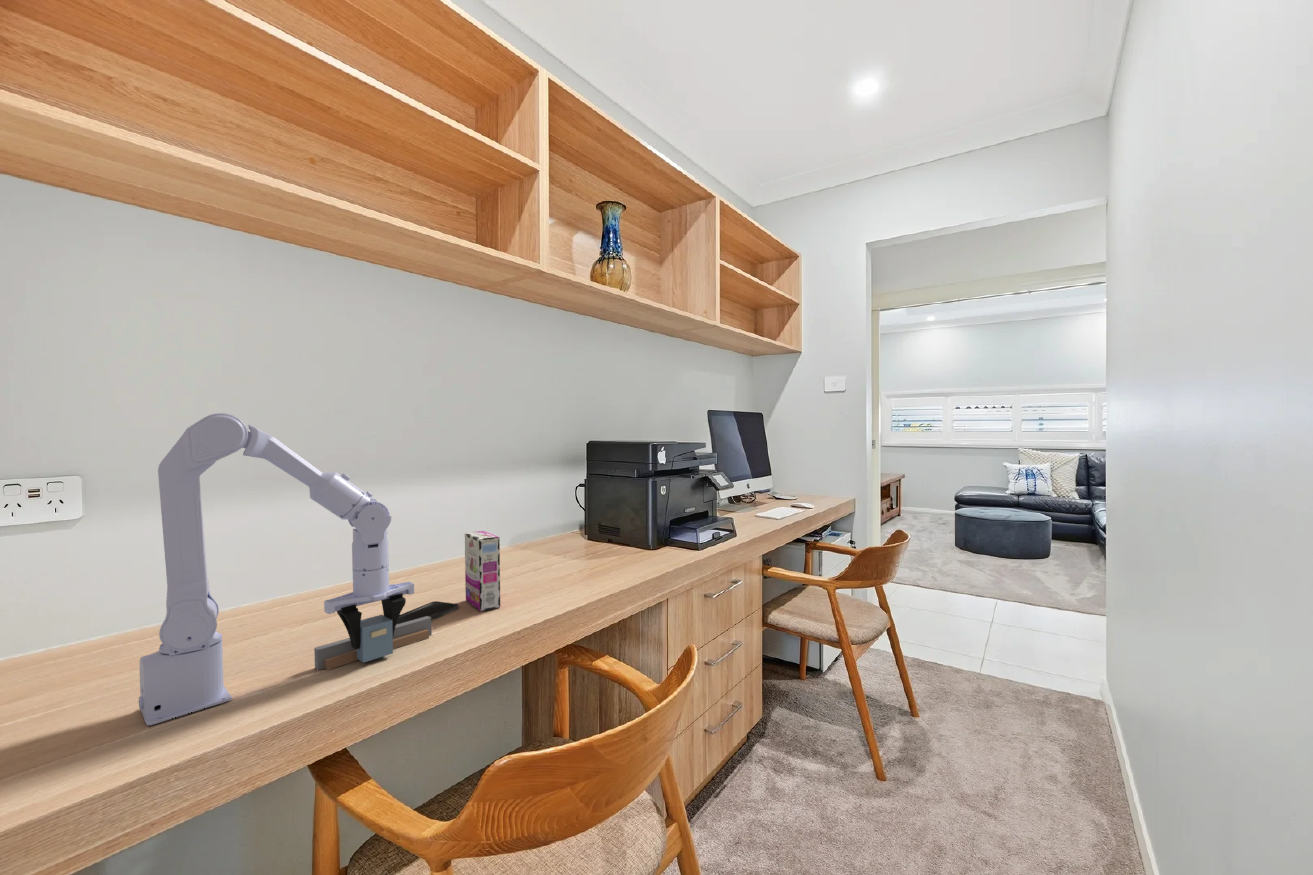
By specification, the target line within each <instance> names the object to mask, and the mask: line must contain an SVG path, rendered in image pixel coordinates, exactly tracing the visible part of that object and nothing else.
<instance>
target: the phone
mask: <svg viewBox="0 0 1313 875" xmlns="http://www.w3.org/2000/svg"><path fill="white" fill-rule="evenodd" d="M458 609H459V604H458V603H452V602H445V601H431V602H429V603H426V604H423V605H421V606H419V607H415V608H413V609H411V610H409V611H406V612H404V613H400V615H399V617H398V620H397V623H396V625H397V624H401V623H404V622H408V621H411V620H415V619H418V618H422V617H426V616H429V617H431V622H432V621H434V620H436V619H439V618H440V617H443V616H445V615H447V614H450V613H452V612H454V611H457V610H458ZM453 610H454V611H453ZM451 611H452V612H451ZM449 612H450V613H449Z"/></svg>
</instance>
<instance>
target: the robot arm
mask: <svg viewBox="0 0 1313 875" xmlns="http://www.w3.org/2000/svg"><path fill="white" fill-rule="evenodd" d="M247 426H248V428H247ZM247 426H246V424H245V423H244V422H243V421H242V419H240V418H239V417H237V416H235V415H232V414H229V413H222V412H220V413H219V412H217V413H212V414H208V415H207V416H204V417H203V418H201V419H200V420H198V421H196V422H194V423H193V424H192V425H190V426H189V427H187V428H186V429H185V430H184V432H183V433H182V435H181V436H180V438H179V439H178V440H177V441H176V442H175V444H174V445H173V446H172V447H171V449H170V450H169V451H168V452H167V454H166V455H165V456H164V457H163V459H162V460H161V461H160V462H159V464H158V469H157V473H158V474H157V476H158V487H159V499H160V500H159V501H160V512H161V514H160V515H161V525H162V534H163V535H162V538H163V547H164V548H163V549H164V550H163V551H164V561H165V572H166V573H165V574H166V585H167V586H166V587H167V588H166V601H165V602H166V603H165V605H166V607H165V608H166V614H165V618H164V620H163V622H162V624H161V625H160V628H159V631H158V635H159V639H160V640H159V641H160V642H161V644H160V645H159V647H158V651H155V652H152V653H150V654H147V655H146V654H145V655H143V656H141V657H140V658H139V689H140V691H139V692H140V694H139V695H140V696H139V697H138V707H139V711H141V714H142V717H143V719H144V723H145V725H146V726H148V727H149V725H150V726H154V725H156V724H159V723H163V722H165V721H166V722H167V721H169V720H172V718H173V719H175V717H176V718H179V717H182V716H185V715H189V714H192V713H195V712H198V711H201V710H204V708H205V709H208V708H211V707H215V706H216V705H220V704H223V703H227V702H230V701H232V699H233V697H232V695H231V694H230V692H229V691H228V689H227V688H226V687H225V684H224V657H223V656H224V655H223V653H224V652H223V649H224V648H223V634H222V633H221V632H219V631H217V627H218V626H217V625H218V622H217V620H218V619H217V618H218V615H219V613H220V612H219V610H220V608H219V604H218V602H217V601H216V600H215V599H214V598H213V596H212V595H211V591H210V584H209V577H208V569H207V568H208V567H207V557H206V544H205V542H206V541H205V530H204V517H203V504H202V493H201V492H202V491H201V480H200V479H201V478H200V477H201V475H202V474H204V473H205V472H206V471H207V470H208V469H210V467H212V466H213V465H215V463H217V461H219V460H221V459H223V458H226V457H228V456H230V455H233V454H234V453H237V452H238V451H239V450H241V449H244V451H243V452H242V456H244V457H252V458H255V459H256V458H257V459H258V458H259V459H264V460H265V461H267V462H269V463H271V464H272V465H274V466H276V467H277V468H279V469H280V470H282V471H283V472H285V473H287V474H288V475H290V476H291V477H293V478H294V479H296V480H297V481H299V482H301V483H302V484H304V485H305V486H307V487H308V488H309V498H310V499H311V500H312V501H313V502H315V503H317V504H318V505H320V506H321V507H323V508H324V509H326V510H327V511H329V512H330V513H332V514H333V515H335V516H336V517H338V518H339V519H340V520H347V521H348V523H349V525H350V526H351V527H353V528H352V544H351V558H352V559H351V561H352V592H349V593H346V594H343V595H340V596H337V597H333V598H329V599H326V600H324V601H323V604H324V605H323V609H324V611H323V612H325V614H328V615H331V614H335V613H337V615H338V616H339V617H340V619H341V621H342V622H343V625H344V627H345V629H346V631H347V634H348V638H350V641H351V645H352V647H353V648H354V649H359V648H360V642H361V640H360V622H361V620H362V615H363V613H362V612H361V611H359V608H358V607H359V606H363V605H367V604H372V603H376V602H378V601H380V602H381V605H382V611H383V614H382V615H384V616H385V617H387V618H389V619H391V620H392V630H393V636H394V631H395V627H396V623H397V620H398V617H399V615H401V614H402V613H401V612H402V611H403V609H404V607H405V606H406V603H407V602H406V598H405V597H404V596H405V595H413V594H414V595H415V583H414V582H412V581H405V582H401V583H400V582H399V583H392V584H390V575H389V574H390V572H389V570H390V568H389V540H388V527H389V526H390V524H391V523H392V516H391V514H390V511H389V509H388V507H386V505H384V504H383V503H381V502H379V501H377V500H376V499H375V498H373V496H374V494H373V493H371V492H370V491H368V490H367V491H364V490H362V489H361V488H359V487H358V486H357V485H355V484H354V483H352V482H351V481H350V480H351V477H350V476H349V475H348V474H346V473H344V472H343V473H342V474H340V473H339V472H337V471H330V472H322V471H321V470H319V469H318V468H317V467H316V466H314V465H312V464H311V463H310V462H308V461H307V460H306V459H305V458H303V457H302V456H300V455H299V454H297V453H296V452H295V451H293V449H290V447H288V446H287V445H285V444H284V443H283V442H281V441H280V440H279V439H277V438H276V437H274V436H273V435H270V434H269V433H267V432H265V431H263V430H261V429H259V428H257V427H255V426H254V425H251V424H248V425H247ZM248 429H249V431H248ZM191 712H192V713H191ZM188 713H189V714H188Z"/></svg>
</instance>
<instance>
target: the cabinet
mask: <svg viewBox="0 0 1313 875" xmlns="http://www.w3.org/2000/svg"><path fill="white" fill-rule="evenodd" d="M360 640H361V642H360V648H359V649H357V659H359V660H358V661H359V662H362V663H366V662H370V661H373V660H376V659H379V658H382V657H385V656H390V655H393V653H394V649H393V630H392V620H391V619H389V618H387V617H385V616H384V614H379V615H374V616H372V617H367V618H364V619H361V622H360Z"/></svg>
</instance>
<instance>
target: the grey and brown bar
mask: <svg viewBox="0 0 1313 875" xmlns="http://www.w3.org/2000/svg"><path fill="white" fill-rule="evenodd" d="M432 630H433V629H432V621H431V617H429V616H426V617H422V618H418V619H415V620H411V621H408V622H404V623H401V624H397V625H396V627H395V631H394V636H393V650H395V649H398V648H401V647H404V646H408V645H411V644H414V643H417V642H420V641H424V640H427V639H429V638H430V636H433V634H432ZM313 650H314V669H316V670H317V671H320V670H324V669H325V670H326V671H328V670H331V669H334V668H337V667H340V666H343V665H347V664H350V663H353V662H357V661H360V660H359V659H357V649H354V648H353V647H352V645H351V641H350V637H347V638H345V639H341V640H337V641H333V642H329V643H326V644H324V645H323V644H322V645H319V646H316V647H314V649H313Z"/></svg>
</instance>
